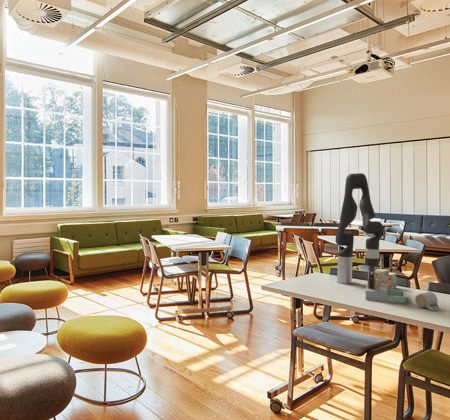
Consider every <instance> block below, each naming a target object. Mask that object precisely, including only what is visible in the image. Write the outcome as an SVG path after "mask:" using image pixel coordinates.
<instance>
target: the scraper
mask: <svg viewBox="0 0 450 420" xmlns="http://www.w3.org/2000/svg"><path fill="white" fill-rule="evenodd" d="M370 279H373V278H370ZM367 285H368V286H367V288H369V277H367ZM373 289H375V291H378V278H374V284H373Z"/></svg>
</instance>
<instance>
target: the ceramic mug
mask: <svg viewBox="0 0 450 420" xmlns="http://www.w3.org/2000/svg"><path fill="white" fill-rule="evenodd" d="M414 302H415V304H416V306H417V307H419V308H420V309H429V310H431V311H433V312H437V311H439V309H440V306H439V304H438V297H437V296H436V294H435V293H434V292H432V291H425V292H423V293H418V294H416V296H415V299H414Z"/></svg>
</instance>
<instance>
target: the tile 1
mask: <svg viewBox="0 0 450 420" xmlns="http://www.w3.org/2000/svg"><path fill="white" fill-rule="evenodd" d="M379 291H384V292H387V287H379Z"/></svg>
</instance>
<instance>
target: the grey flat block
mask: <svg viewBox="0 0 450 420" xmlns="http://www.w3.org/2000/svg"><path fill="white" fill-rule="evenodd" d="M367 286H368V284H366V286H365V300H367V301H375V302H385V303H386V302H387V292H384V291H379V286H378V291H375V289H373V288H367ZM386 287H387V286H386ZM387 303H388V302H387Z"/></svg>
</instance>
